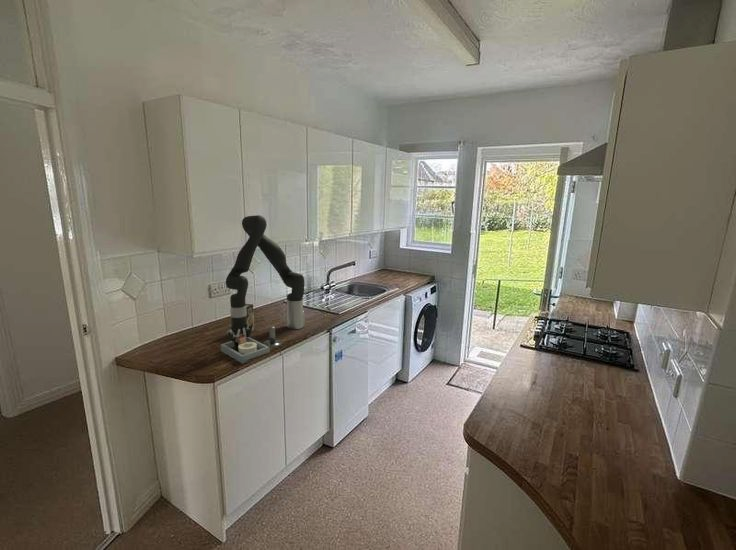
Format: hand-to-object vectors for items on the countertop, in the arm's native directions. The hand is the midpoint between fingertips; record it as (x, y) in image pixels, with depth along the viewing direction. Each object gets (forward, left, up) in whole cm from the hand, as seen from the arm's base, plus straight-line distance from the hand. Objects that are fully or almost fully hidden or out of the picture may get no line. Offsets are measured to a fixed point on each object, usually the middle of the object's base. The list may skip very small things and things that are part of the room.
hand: (240, 346), depth 182 cm
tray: (0, +5, -2) cm, 5 cm away
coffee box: (-14, -19, -2) cm, 23 cm away
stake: (-15, +6, -2) cm, 16 cm away
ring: (0, +5, 0) cm, 5 cm away
